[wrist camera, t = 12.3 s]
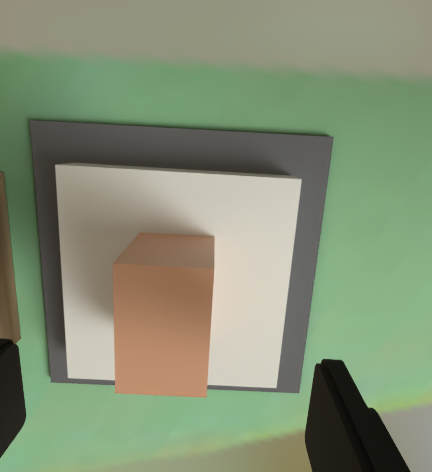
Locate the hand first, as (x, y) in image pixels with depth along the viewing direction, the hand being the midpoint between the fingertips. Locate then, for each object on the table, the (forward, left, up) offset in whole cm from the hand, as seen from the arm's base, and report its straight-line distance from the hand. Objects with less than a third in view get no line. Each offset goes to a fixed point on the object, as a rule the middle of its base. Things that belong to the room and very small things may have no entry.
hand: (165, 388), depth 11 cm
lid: (+1, 0, -11) cm, 11 cm away
